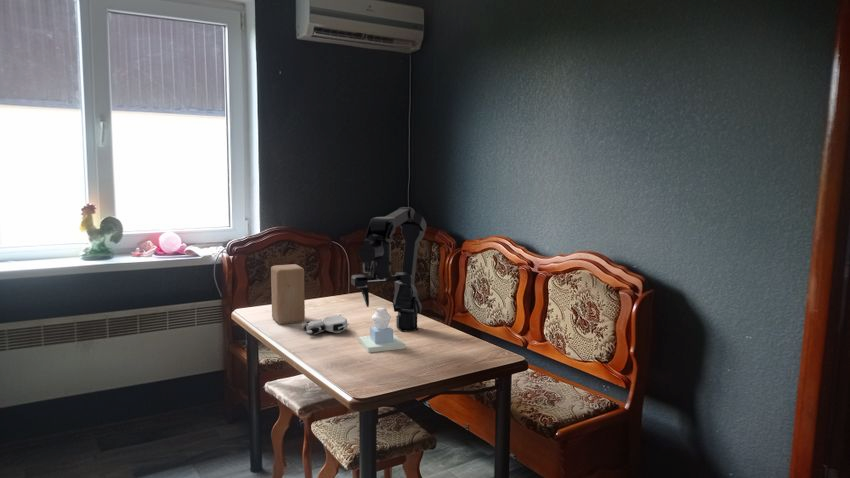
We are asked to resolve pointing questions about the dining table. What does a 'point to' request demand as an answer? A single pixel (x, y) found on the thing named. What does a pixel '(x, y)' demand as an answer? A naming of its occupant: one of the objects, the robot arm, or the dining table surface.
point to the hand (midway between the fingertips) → (381, 305)
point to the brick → (381, 335)
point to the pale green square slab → (372, 347)
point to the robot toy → (326, 325)
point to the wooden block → (287, 293)
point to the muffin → (381, 318)
